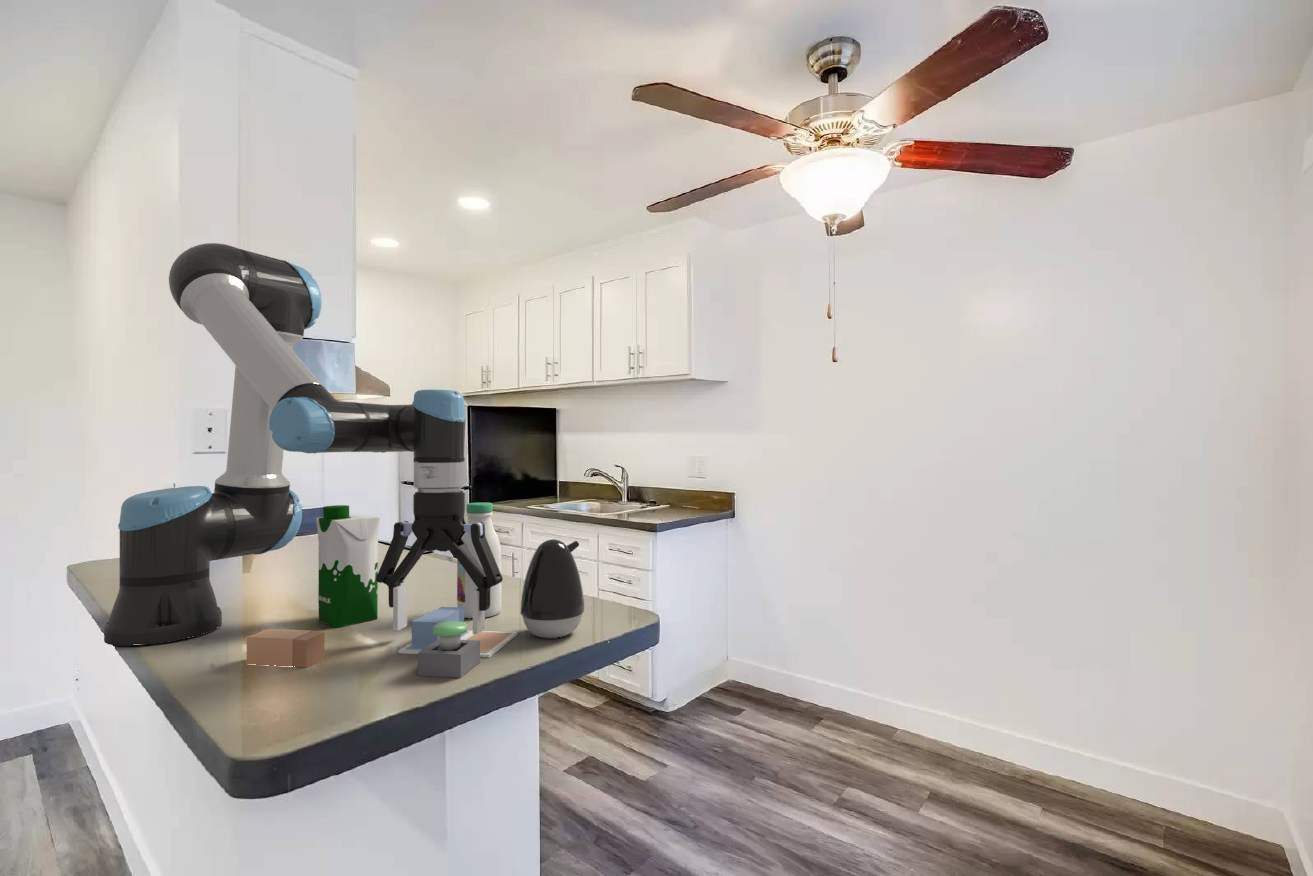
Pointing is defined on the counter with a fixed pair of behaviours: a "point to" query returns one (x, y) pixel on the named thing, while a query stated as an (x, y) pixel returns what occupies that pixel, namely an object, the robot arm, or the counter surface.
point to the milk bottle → (464, 582)
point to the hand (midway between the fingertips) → (439, 630)
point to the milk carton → (347, 566)
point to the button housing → (449, 659)
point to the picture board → (488, 640)
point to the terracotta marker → (286, 648)
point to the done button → (449, 634)
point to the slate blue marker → (425, 623)
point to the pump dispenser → (552, 591)
